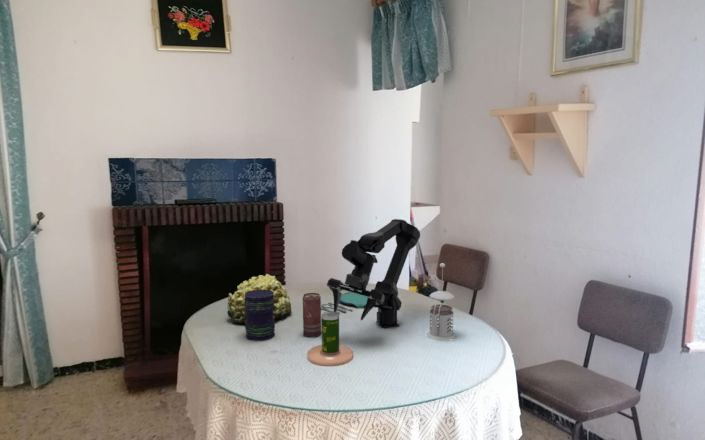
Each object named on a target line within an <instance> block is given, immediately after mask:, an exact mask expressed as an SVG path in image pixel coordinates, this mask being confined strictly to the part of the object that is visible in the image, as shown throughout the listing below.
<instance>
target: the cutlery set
mask: <svg viewBox="0 0 705 440" xmlns="http://www.w3.org/2000/svg"><path fill="white" fill-rule="evenodd" d="M358 291H359V290H358ZM366 291H370V292H371V290H368V289H366ZM359 292H362V291H359ZM368 298H370V297H367V296H363V295H359V294H356V293H352V292H348V291H347V292H345V293H342V295H341V298H340V301H339V303H342V304H343V305H348V306H355V307H357V308H358V309H363V308H365V306H366V303H367V299H368ZM327 305H328V307H327ZM343 305H338V308H337V311H336V312H337V313H338V316H339V315H341V313H340V312H343V313H347V311H350V312H353V309H349V308H347V307H345V306H343ZM333 306H334V302H328V303H321V311H325V312H334V307H333ZM330 309H333V310H330ZM338 311H340V312H338Z"/></svg>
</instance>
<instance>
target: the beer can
mask: <svg viewBox="0 0 705 440" xmlns="http://www.w3.org/2000/svg"><path fill="white" fill-rule="evenodd" d="M337 312H338V311H336V312H328V311H325V312H323V313H322V312H321V345H322V352H323V353H324V354H326V355H335V354H337V353H338V352H339V345H340V316H339V315H338V313H337Z"/></svg>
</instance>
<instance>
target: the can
mask: <svg viewBox="0 0 705 440" xmlns="http://www.w3.org/2000/svg"><path fill="white" fill-rule="evenodd" d="M321 300H322V298H321V295H320V294H319V293H318V292H307V293H304V294H303V296H302V327H303V329H302V330H303V331H302V332H303V336H305V337H307V338H317V337H319V336H320V335H322V327H321V317H322V310H321V307H322V301H321Z"/></svg>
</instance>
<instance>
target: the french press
mask: <svg viewBox="0 0 705 440" xmlns="http://www.w3.org/2000/svg"><path fill="white" fill-rule="evenodd" d="M445 267H446V264H445V263H443V262H441V263H440V264H439V268H441V269H442V270H441V287H443V282H444V280H443V278H444V277H443V274H444V268H445ZM429 298H431V300H434V301H441V302H443V301H452V300H453V299H454V298H455V295H454V294H452V293H451V292H448V291H445V290H438V291H434V292H431V294H429ZM453 318H454V311H453V306H451V305H448V304H443V303H440V304H437V303H436V302H435V304H433V305H431V307H430V310H429V331H428V332H426V336H427V338H429V339H432V340H435V341H442V340H443V341H444V340H445V341H451V340H450V339H452V340H454V339H455V338H456V337H457V336H456V334H455V333H454V319H453Z"/></svg>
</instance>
